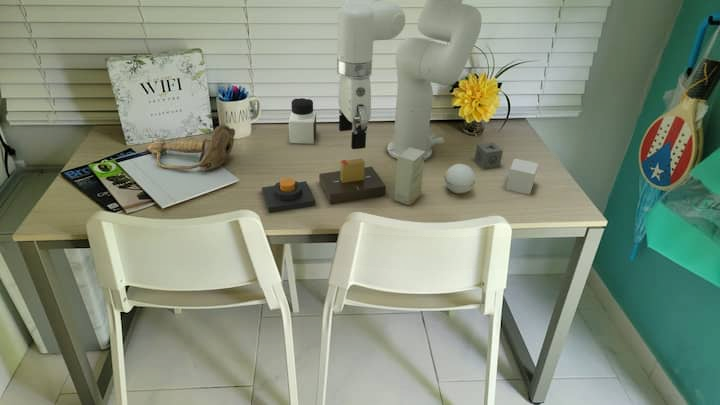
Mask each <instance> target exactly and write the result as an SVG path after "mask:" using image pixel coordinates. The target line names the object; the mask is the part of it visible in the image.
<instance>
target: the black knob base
mask: <svg viewBox="0 0 720 405" xmlns="http://www.w3.org/2000/svg"><path fill="white" fill-rule="evenodd" d="M261 193H262V196H263V199H264V203H265V205H266V208H267V212H268V214H271V213H279V212H284V211H292V210H298V209H304V208H311V207H316V199H315V197H314V194H313V193H312V191H311V188H310V186H309V184H308V182H307V180H305V181H299V182H298V181H297V180H295V190H294V191H292V192H283V191H281V190H280V181H278V182H276V183H275V184H274V185H269V186H262V187H261Z"/></svg>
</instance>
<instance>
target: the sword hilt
mask: <svg viewBox="0 0 720 405" xmlns="http://www.w3.org/2000/svg"><path fill="white" fill-rule="evenodd" d="M235 135H236V130H235V129H234V128H230V126H228V125H226V124H219V125H218V126H216V127H215V128H214V130H213V132H212V134H211V136H210V139H206V138H205V139H204V140H203V139H184V140H177V141H169V142H168V143H166V142H165V141H162V140H156V141H154V142H152V143H150V144H149V145H148V144H147V145H145V146H144V151H145V152H146V153H147V152H150V153H151V155H152V156H153V157H156V162H157V165H158V166H159V167H162V168H164V169H172V170H192V169H197V168H201V171H202V172H206V171H209V170H213V169H217V168H219V167H220V166H222V165H223V164H224V163H225V162H226V161H227V159H228V158H229V157H230V155H231V152H232V149H233V147H234V142H235V140H234V138H235ZM167 151H169V152H179V153H183V154H184V153H185V154H200V155H199V160H198V163H197V164H193V165H169V164H168V165H167V164H166V165H165V164H162V162H161V156H162V155H163V154H164V153H166V152H167Z"/></svg>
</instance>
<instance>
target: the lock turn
mask: <svg viewBox="0 0 720 405" xmlns="http://www.w3.org/2000/svg"><path fill="white" fill-rule="evenodd" d="M365 163H366V162H365V160H364V159H363V158H355V159H342V160H340V170H339V171H340V179H341V181H342V183H346V182H353V181H360V180H364V168H365V167H366V164H365Z"/></svg>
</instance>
